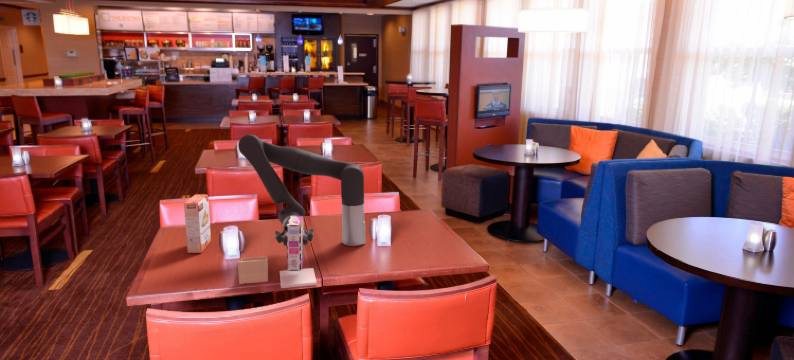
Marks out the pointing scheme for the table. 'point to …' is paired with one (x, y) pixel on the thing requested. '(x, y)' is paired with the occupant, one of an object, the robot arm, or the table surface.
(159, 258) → the table surface
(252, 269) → the kraft carton
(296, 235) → the candy bar box
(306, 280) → the ceramic tile
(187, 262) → the table surface
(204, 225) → the cracker box
